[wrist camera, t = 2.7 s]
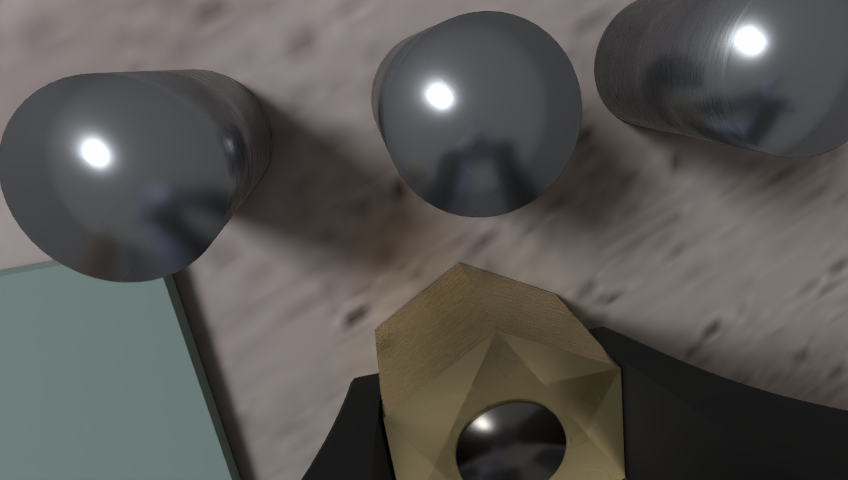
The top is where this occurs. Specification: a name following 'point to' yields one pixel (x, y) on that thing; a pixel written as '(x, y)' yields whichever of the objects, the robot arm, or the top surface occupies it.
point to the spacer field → (417, 122)
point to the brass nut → (497, 386)
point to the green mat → (102, 382)
